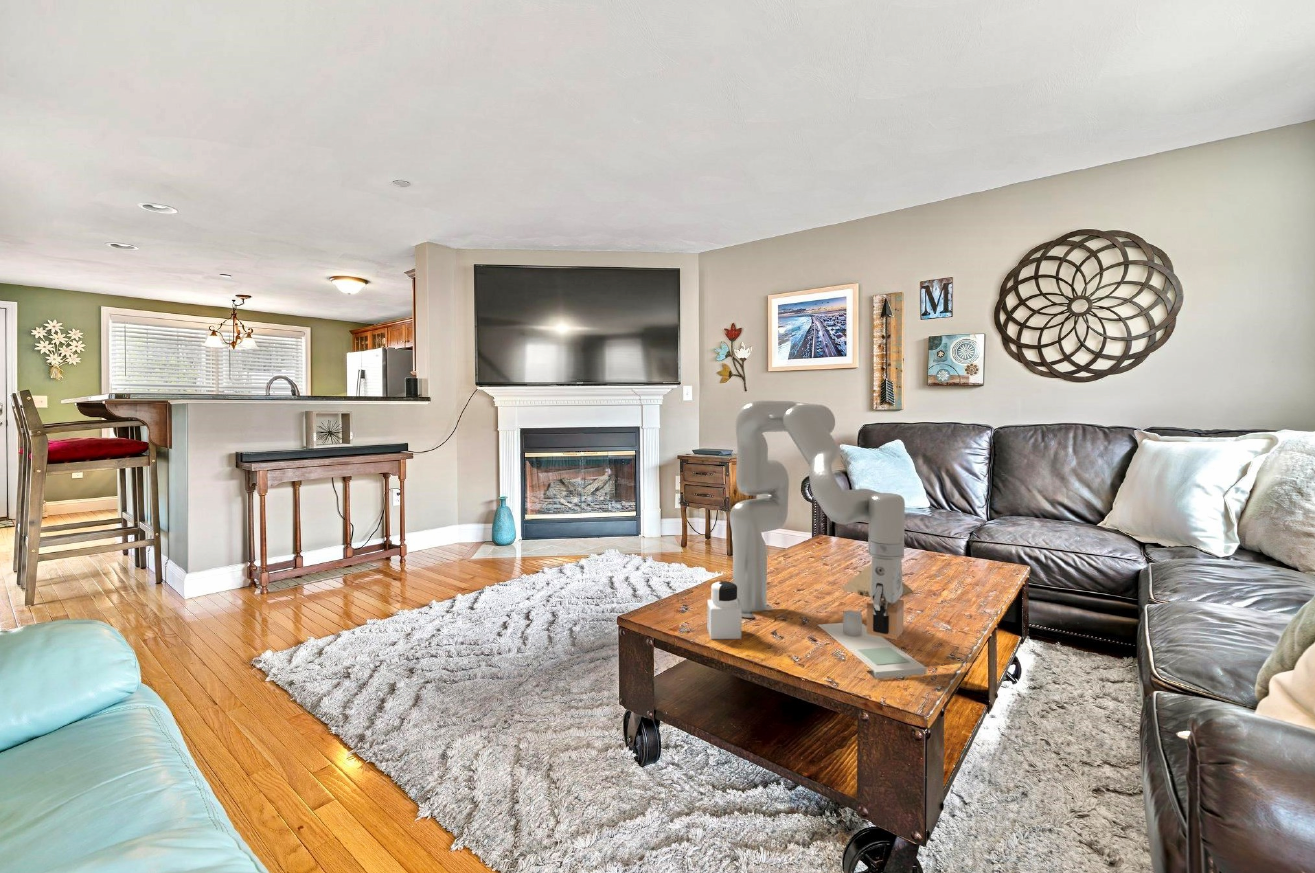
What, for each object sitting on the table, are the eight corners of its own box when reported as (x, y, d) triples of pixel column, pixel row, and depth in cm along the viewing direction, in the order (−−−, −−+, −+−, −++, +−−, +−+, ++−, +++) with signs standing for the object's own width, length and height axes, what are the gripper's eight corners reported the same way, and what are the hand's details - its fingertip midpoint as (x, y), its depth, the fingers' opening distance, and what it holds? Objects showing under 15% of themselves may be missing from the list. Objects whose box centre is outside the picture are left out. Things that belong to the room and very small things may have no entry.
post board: (875, 678, 127) (876, 648, 126) (817, 630, 154) (817, 605, 154) (926, 674, 129) (927, 645, 128) (859, 627, 156) (860, 602, 156)
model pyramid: (837, 590, 189) (837, 559, 189) (865, 580, 201) (865, 550, 200) (887, 603, 177) (887, 570, 176) (914, 591, 188) (914, 560, 188)
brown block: (896, 639, 129) (897, 607, 129) (866, 633, 133) (866, 602, 133) (903, 630, 135) (903, 600, 134) (874, 625, 138) (874, 595, 138)
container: (736, 627, 156) (736, 578, 155) (741, 639, 148) (742, 587, 147) (707, 628, 155) (707, 579, 155) (710, 639, 148) (711, 588, 147)
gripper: (894, 559, 124) (893, 643, 125) (912, 543, 138) (911, 619, 139) (857, 554, 128) (856, 636, 129) (878, 539, 142) (877, 613, 143)
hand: (884, 626), depth 134 cm, fingers closed on brown block, 6 cm apart
